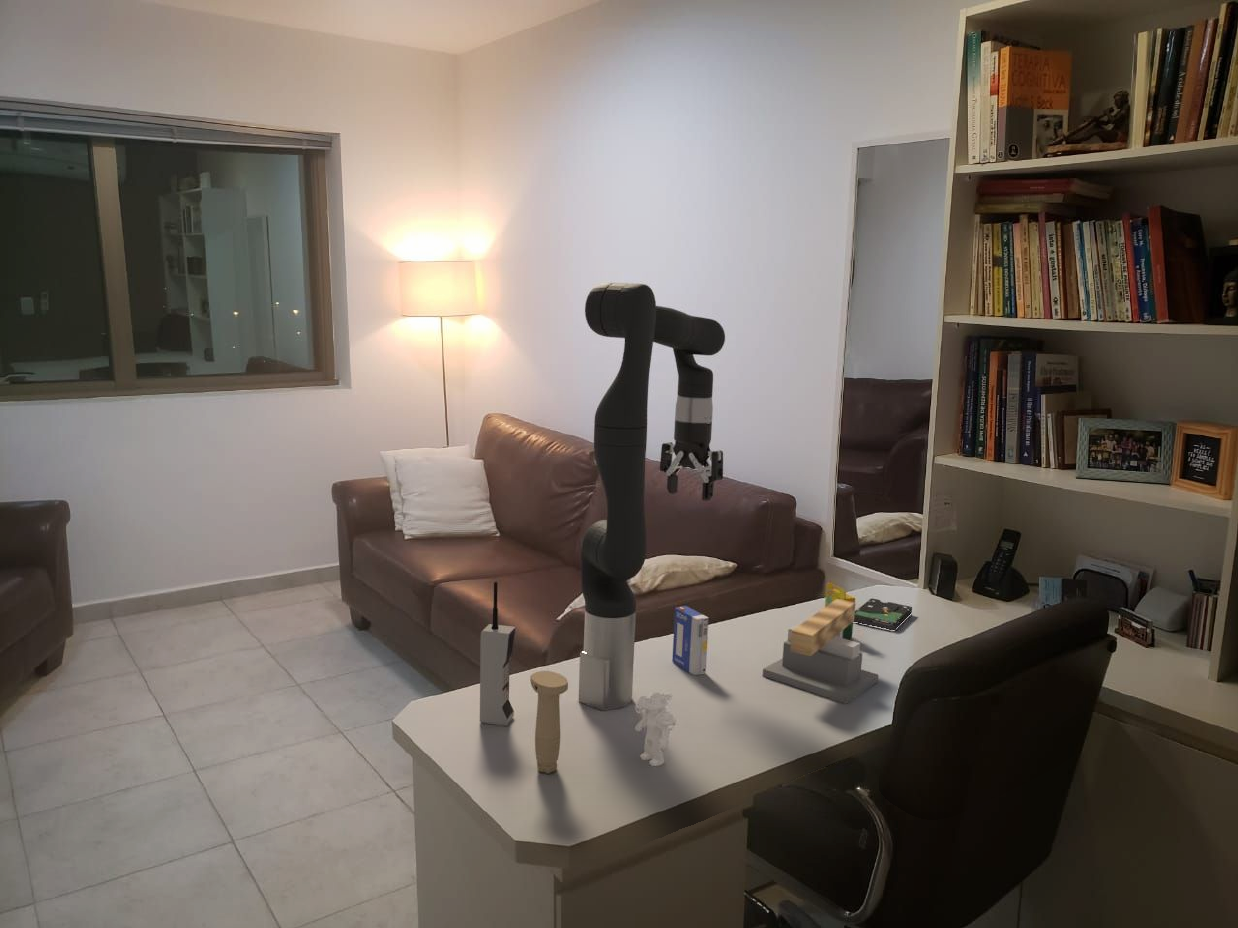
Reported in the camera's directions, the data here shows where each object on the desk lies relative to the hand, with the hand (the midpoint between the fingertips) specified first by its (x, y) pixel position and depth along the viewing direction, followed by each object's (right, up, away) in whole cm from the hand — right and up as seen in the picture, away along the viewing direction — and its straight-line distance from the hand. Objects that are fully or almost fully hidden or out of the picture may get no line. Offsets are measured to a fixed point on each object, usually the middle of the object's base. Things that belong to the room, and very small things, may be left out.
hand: (689, 496), depth 190 cm
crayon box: (+35, -32, +18) cm, 50 cm away
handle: (-26, -41, -46) cm, 67 cm away
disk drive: (+48, -31, +30) cm, 65 cm away
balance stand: (+25, -36, -7) cm, 45 cm away
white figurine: (-9, -41, -42) cm, 59 cm away
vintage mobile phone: (-36, -38, -30) cm, 60 cm away
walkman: (0, -35, -4) cm, 35 cm away
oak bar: (+26, -27, -8) cm, 38 cm away
